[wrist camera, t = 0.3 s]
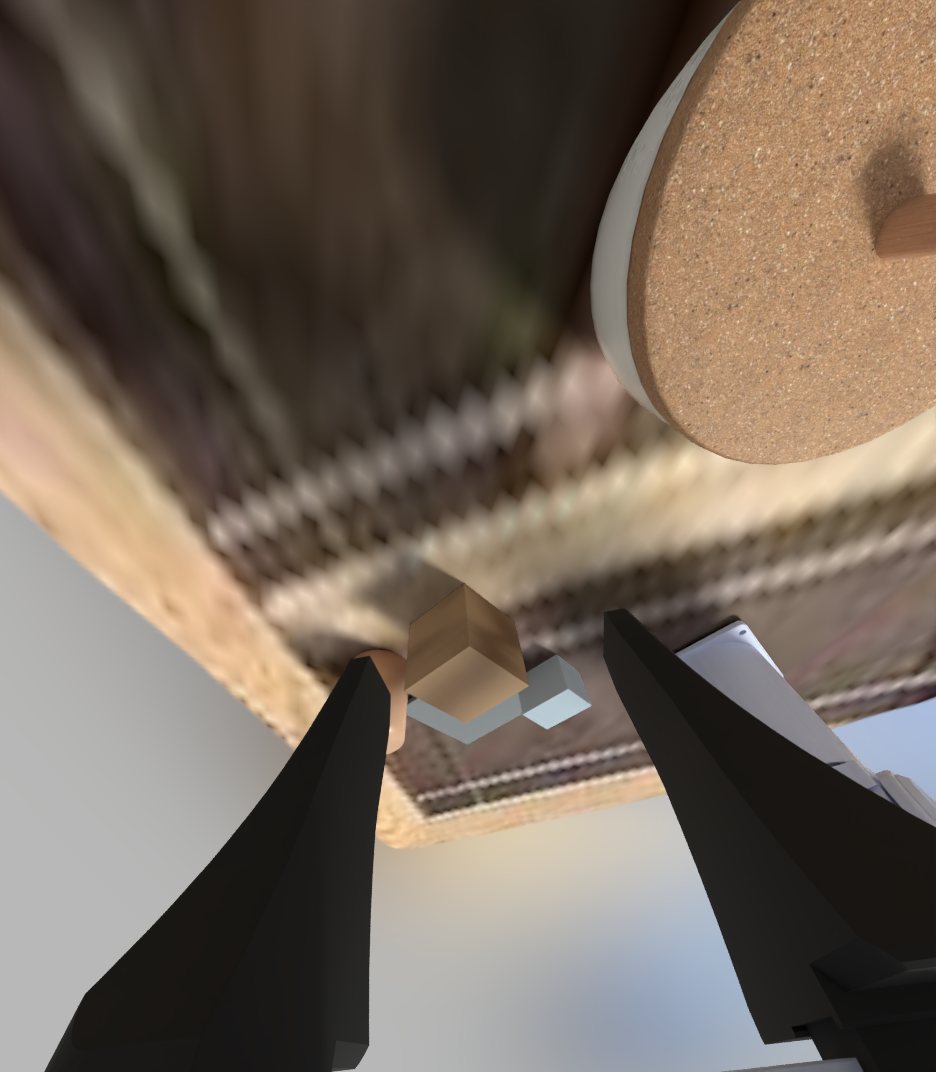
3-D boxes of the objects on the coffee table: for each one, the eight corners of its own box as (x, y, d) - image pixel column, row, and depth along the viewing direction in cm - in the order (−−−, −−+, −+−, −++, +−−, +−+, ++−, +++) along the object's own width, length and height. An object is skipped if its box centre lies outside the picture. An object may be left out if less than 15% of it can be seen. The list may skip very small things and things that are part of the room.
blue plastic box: (578, 669, 28) (591, 705, 26) (537, 693, 29) (547, 729, 27) (556, 652, 27) (568, 688, 24) (514, 677, 28) (522, 714, 26)
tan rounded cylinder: (422, 668, 27) (419, 736, 22) (383, 694, 28) (374, 763, 24) (375, 640, 25) (362, 709, 20) (336, 671, 26) (316, 741, 22)
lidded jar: (503, 336, 15) (572, 368, 7) (687, -50, 10) (1527, -1262, 2) (685, 442, 18) (873, 546, 10) (893, 185, 13) (1554, 9, 5)
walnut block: (514, 621, 25) (529, 685, 20) (461, 656, 26) (465, 723, 22) (464, 582, 22) (469, 646, 18) (410, 623, 24) (404, 690, 20)
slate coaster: (537, 700, 30) (538, 704, 29) (467, 739, 32) (467, 744, 32) (471, 657, 26) (471, 662, 26) (399, 706, 29) (398, 710, 29)
